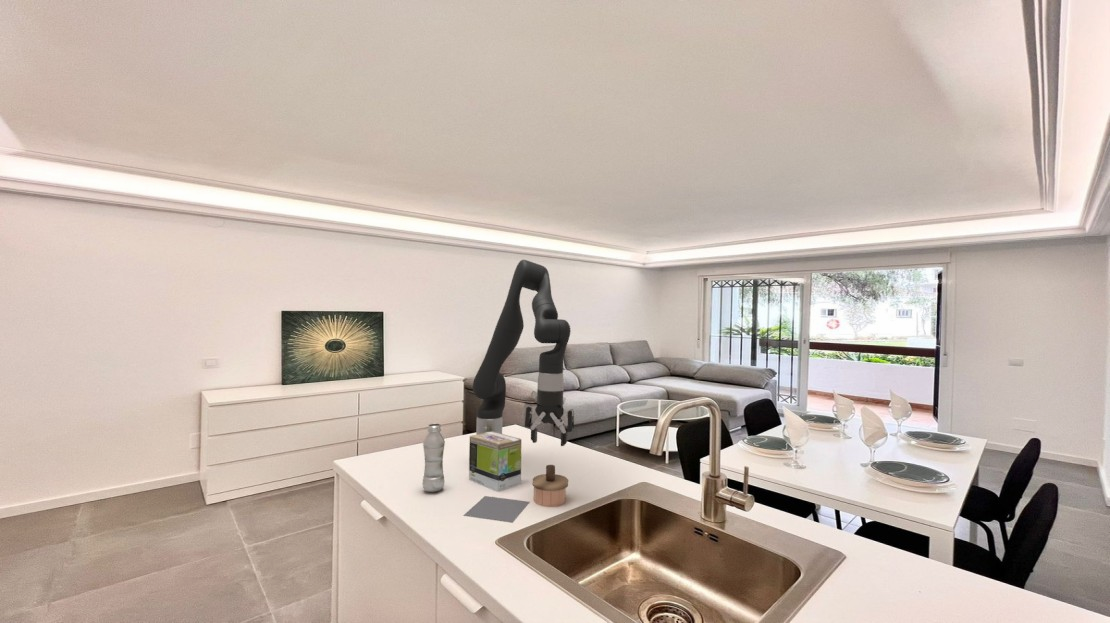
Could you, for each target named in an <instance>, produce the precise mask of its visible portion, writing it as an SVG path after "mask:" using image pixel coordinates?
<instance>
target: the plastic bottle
mask: <svg viewBox="0 0 1110 623" xmlns="http://www.w3.org/2000/svg"><path fill="white" fill-rule="evenodd" d="M427 426H428V427H427V432H428V433H427V435H426V436H425V438H424V439H423V442H422V447H423V454H424V470H423V471H424V472H423V476H422V484H421V485H422V489H423V490H424V491H425V492H428V493H436V492H440V491H442V490H443V488H444V486H445V483H446V482H445V474H444V466H443V465H444V463H443V462H444V450H445V445H446V441H445V438H444V436H443V434H442V433H441V430H442V428H441V427H442V426H441V424H440V423H430V424H428V425H427Z"/></svg>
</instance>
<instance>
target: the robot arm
mask: <svg viewBox="0 0 1110 623" xmlns="http://www.w3.org/2000/svg"><path fill="white" fill-rule="evenodd" d="M523 288H524V289H527V290H530V291H533V292H534V291H535V292H537V293H536V294H535V295H534V296H533V298H532V300H531V309H532V312H533V316H534V321H535V323H534V329H533V336H534V339H535V340H536V341H537V342H538V343H540V344H555V346H554V348H552V349H551V350H547V351H543V352H541V353H540V354H539V359H538V360H539V361H538V377H537V393H536V394H537V396H536V398H537V399H536V406H533V405H529V406H527V407H526V408H525V418H524V427H525V428H529V429H530V441H532V443H534V444H536V443H537V442H538V426H539V425H540V424H541V423H543V424H551V425H556V426H557V427H558V428H559V430H560V431H561V433H560V447H565V445H566V444H567V442H568V433H570V432H571V433H572V432H573V430H574V429H575V416H574V414H575V411H574V409H572V408H571V409H565V408H564V388H565V385H564V384H565V383H564V360H565V359H564V358H565V355H566V350H567V346H568V343H569V341H570V340H569V339H570V336H571V325H570V324H569V322H568V321H567V319H560V318H559V314H558V310H557V307H556V305H555V303H554V299H553V296H552V287H551V280H550V274H549V271H548V269H547V268H546V266H544V265H541V264H538V263H536V262H533V261H530V260H527V259H521V260H520V261H519V262H518V263H517V265H516V268H515V270H514V273H513V275H512V279H511V282H510V286H509V289H508V293H507V296H506V300H505V302H504V305H503V308H502V310H501V313H500V316H499V318H498V319H497V323H496V326H495V329H494V330H493V334H492V337H491V340H490V342H489V345H488V347H487V350H486V353H485V356H484V358H483V360H482V362H481V364H480V366H479V368H478V371H477V372H476V375H475V377H474V379H473V382H472V391H473V393H474V396H476V398H477V399H480V400H482V402H481V404H480V405H479V407H478V408H477V409H476V434H475V435H477V434H482V433H487V432H492V431H493V432H496V433H500V434H503V415H504V414H503V412H504V409H505V406H506V393H507V384H506V383H507V382H506V379H505V377H504V374H502V373H501V372H500V371H501V368H502V367H503V364H504V363H505V361H506V360H507V359H508V358H509V357H510V355H511V354H512V352H514V350H515V349H516V347H517V346H518V344H519V341H520V338H521V336H522V334H523V330H524V326H525V325H524V317H523V313H522V310H521V309H522V308H521V302H520V300H521V292H522V289H523ZM535 413H536V415H537V416H538V417H537V418H536V419H535V421H534V422H533V423H532V420H533V414H535ZM563 415H565V418H567V425H566V423H565V421H564V419H563V418H562V417H563Z"/></svg>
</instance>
